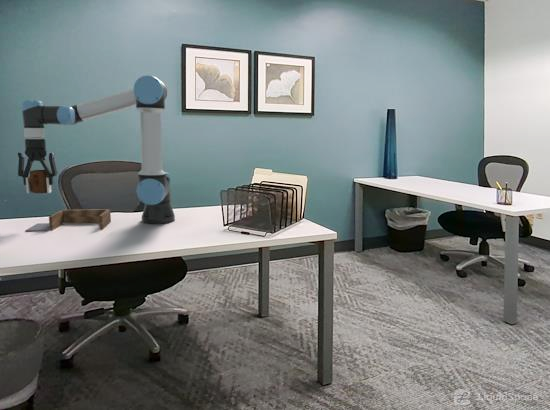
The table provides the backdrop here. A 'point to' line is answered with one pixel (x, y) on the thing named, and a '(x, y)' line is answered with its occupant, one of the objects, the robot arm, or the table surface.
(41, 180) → the mug
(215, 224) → the table surface
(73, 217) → the brown wooden u-shaped piece
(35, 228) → the mat
